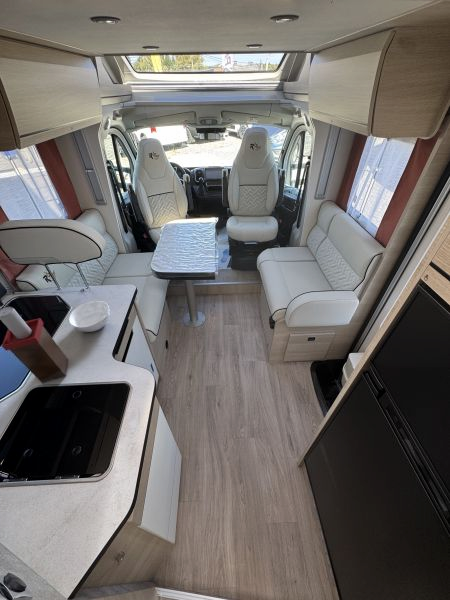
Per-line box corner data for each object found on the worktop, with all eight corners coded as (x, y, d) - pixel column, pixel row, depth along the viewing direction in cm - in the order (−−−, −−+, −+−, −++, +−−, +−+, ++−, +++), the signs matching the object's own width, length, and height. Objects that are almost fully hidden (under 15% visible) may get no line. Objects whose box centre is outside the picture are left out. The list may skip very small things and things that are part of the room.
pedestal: (42, 383, 103) (8, 349, 88) (45, 365, 110) (14, 330, 94) (66, 376, 105) (37, 341, 90) (68, 359, 112) (41, 324, 96)
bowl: (72, 319, 130) (66, 309, 125) (108, 306, 137) (104, 296, 132) (78, 343, 118) (72, 333, 113) (118, 327, 125) (113, 316, 120)
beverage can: (35, 331, 93) (16, 307, 85) (25, 341, 90) (4, 317, 81) (24, 329, 94) (5, 305, 86) (14, 339, 90) (-8, 315, 82)
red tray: (6, 350, 87) (1, 346, 86) (13, 329, 94) (9, 325, 93) (38, 342, 90) (35, 337, 88) (43, 322, 97) (40, 318, 95)
